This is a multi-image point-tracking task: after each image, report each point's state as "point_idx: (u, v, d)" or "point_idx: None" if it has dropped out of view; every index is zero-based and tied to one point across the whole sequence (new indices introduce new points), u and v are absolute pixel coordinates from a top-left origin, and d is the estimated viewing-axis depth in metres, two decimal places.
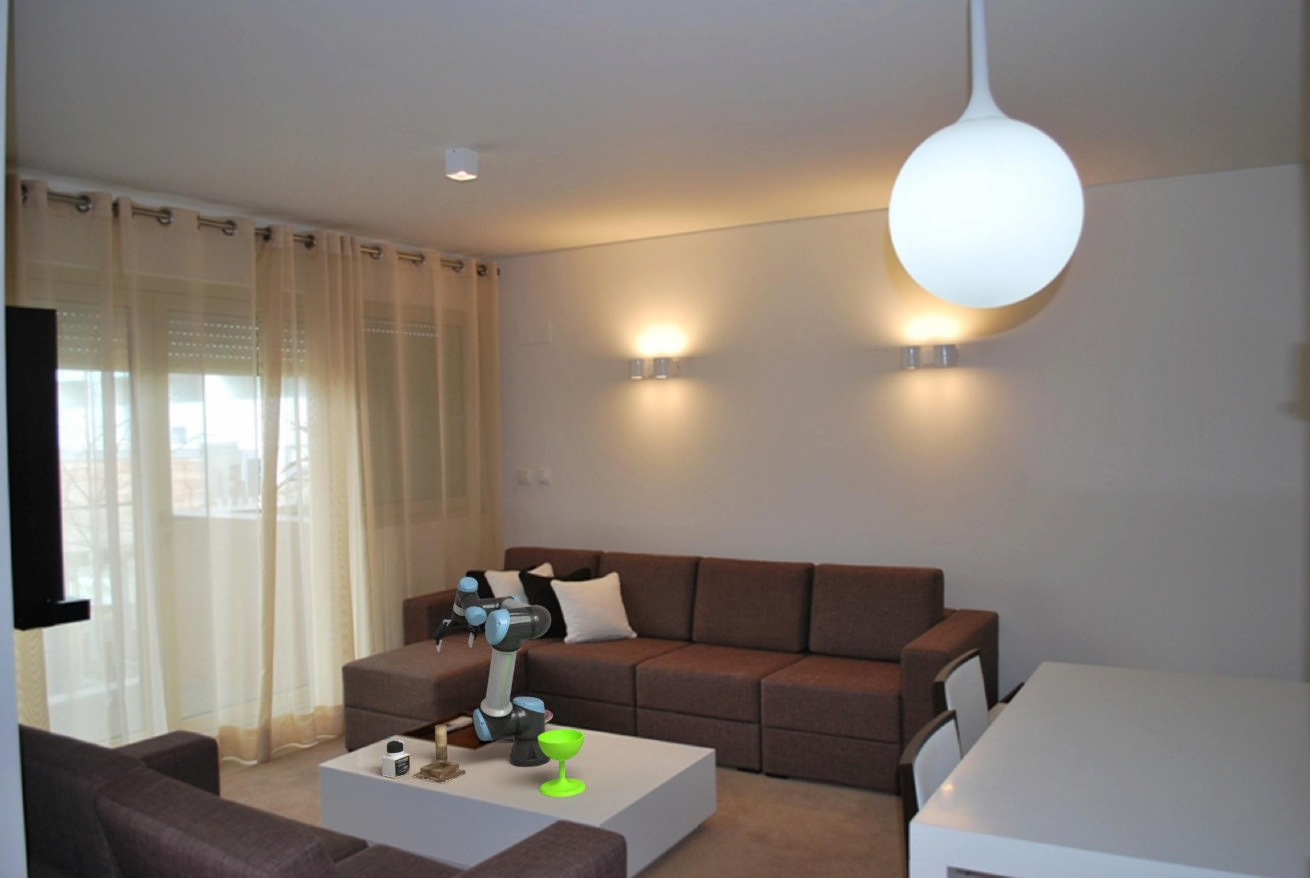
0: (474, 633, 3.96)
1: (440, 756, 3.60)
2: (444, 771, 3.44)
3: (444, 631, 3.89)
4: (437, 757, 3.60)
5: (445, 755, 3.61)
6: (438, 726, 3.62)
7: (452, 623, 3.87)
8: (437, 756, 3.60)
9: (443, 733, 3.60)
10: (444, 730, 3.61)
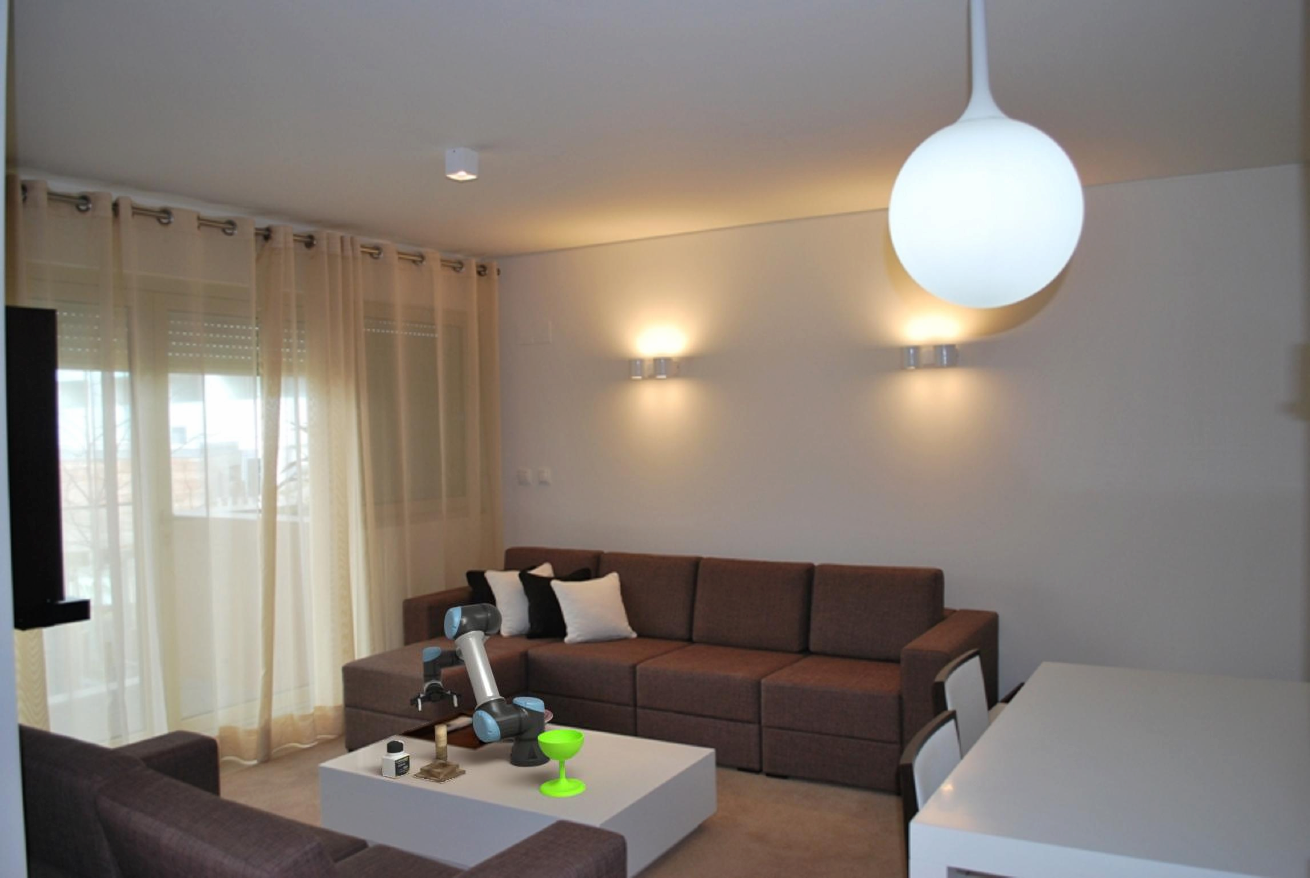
0: (454, 694, 3.81)
1: (440, 756, 3.60)
2: (444, 771, 3.44)
3: None
4: (437, 757, 3.60)
5: (445, 755, 3.61)
6: (438, 726, 3.62)
7: (426, 693, 3.85)
8: (437, 756, 3.60)
9: (443, 733, 3.60)
10: (444, 730, 3.61)
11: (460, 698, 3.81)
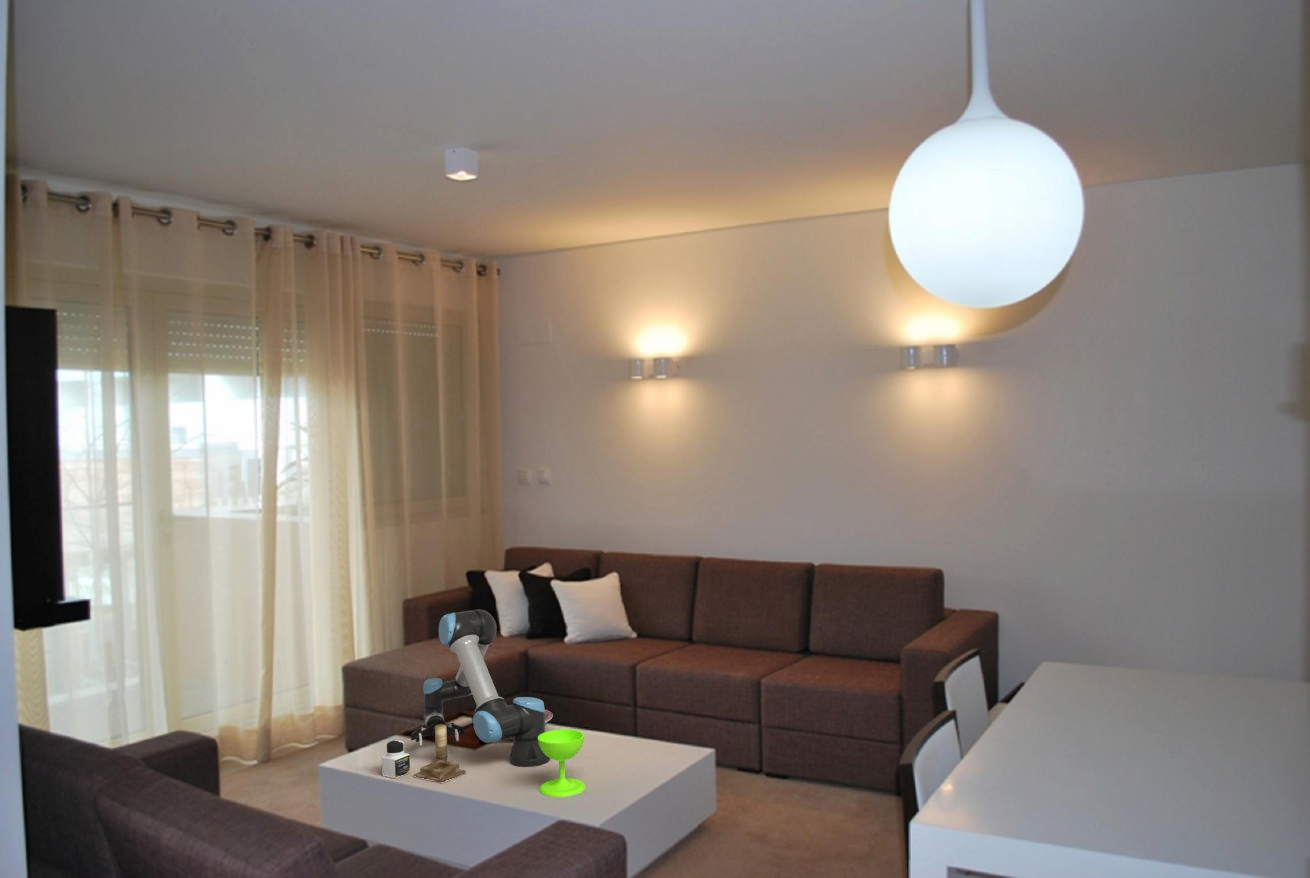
0: (456, 728, 3.75)
1: (440, 756, 3.60)
2: (444, 771, 3.44)
3: None
4: (437, 757, 3.60)
5: (445, 755, 3.61)
6: (438, 726, 3.62)
7: (427, 726, 3.79)
8: (437, 756, 3.60)
9: (443, 733, 3.60)
10: (444, 730, 3.61)
11: (462, 732, 3.75)
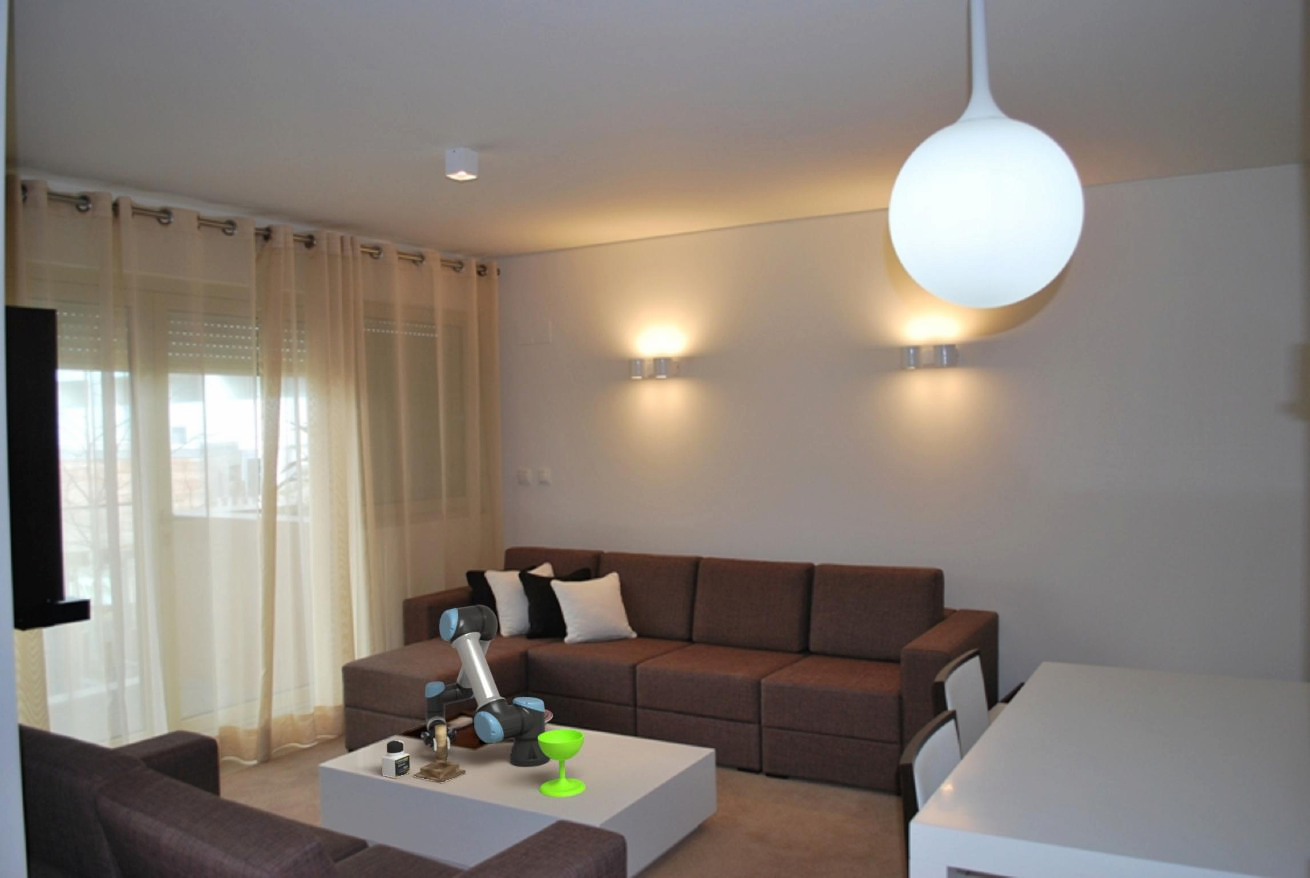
0: None
1: (440, 756, 3.60)
2: (444, 771, 3.44)
3: None
4: (437, 757, 3.60)
5: (445, 755, 3.61)
6: (438, 726, 3.62)
7: (429, 731, 3.72)
8: (437, 756, 3.60)
9: (443, 733, 3.60)
10: (444, 730, 3.61)
11: None
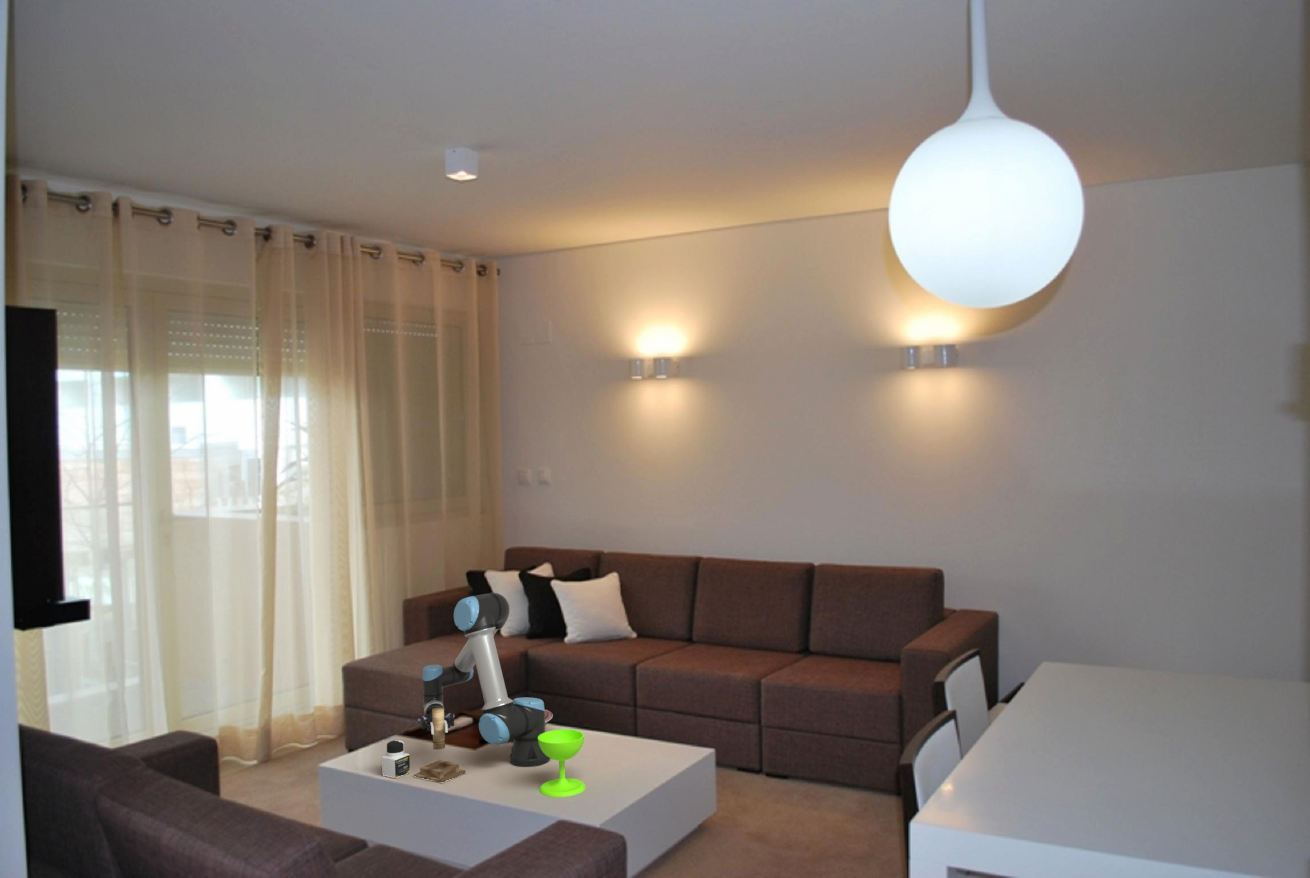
0: None
1: (437, 740, 3.47)
2: (444, 771, 3.44)
3: None
4: (434, 741, 3.47)
5: (443, 739, 3.48)
6: (435, 709, 3.49)
7: (426, 715, 3.59)
8: (434, 740, 3.47)
9: (440, 716, 3.47)
10: (442, 713, 3.48)
11: (450, 723, 3.52)
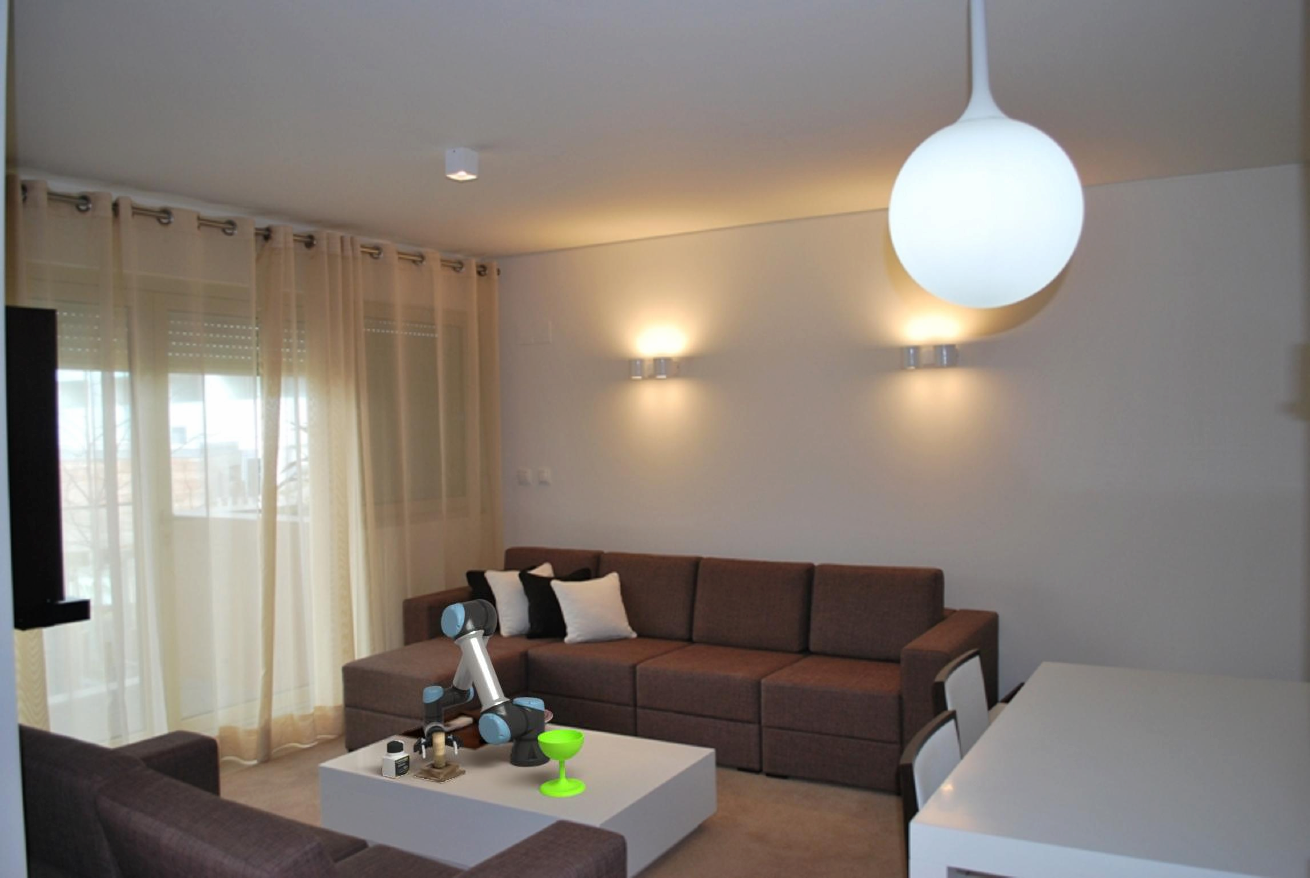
0: (454, 740, 3.54)
1: (438, 765, 3.47)
2: (444, 771, 3.44)
3: None
4: (435, 766, 3.47)
5: (443, 764, 3.48)
6: (436, 734, 3.49)
7: (427, 737, 3.59)
8: (435, 765, 3.47)
9: (441, 741, 3.47)
10: (442, 738, 3.47)
11: (460, 744, 3.54)
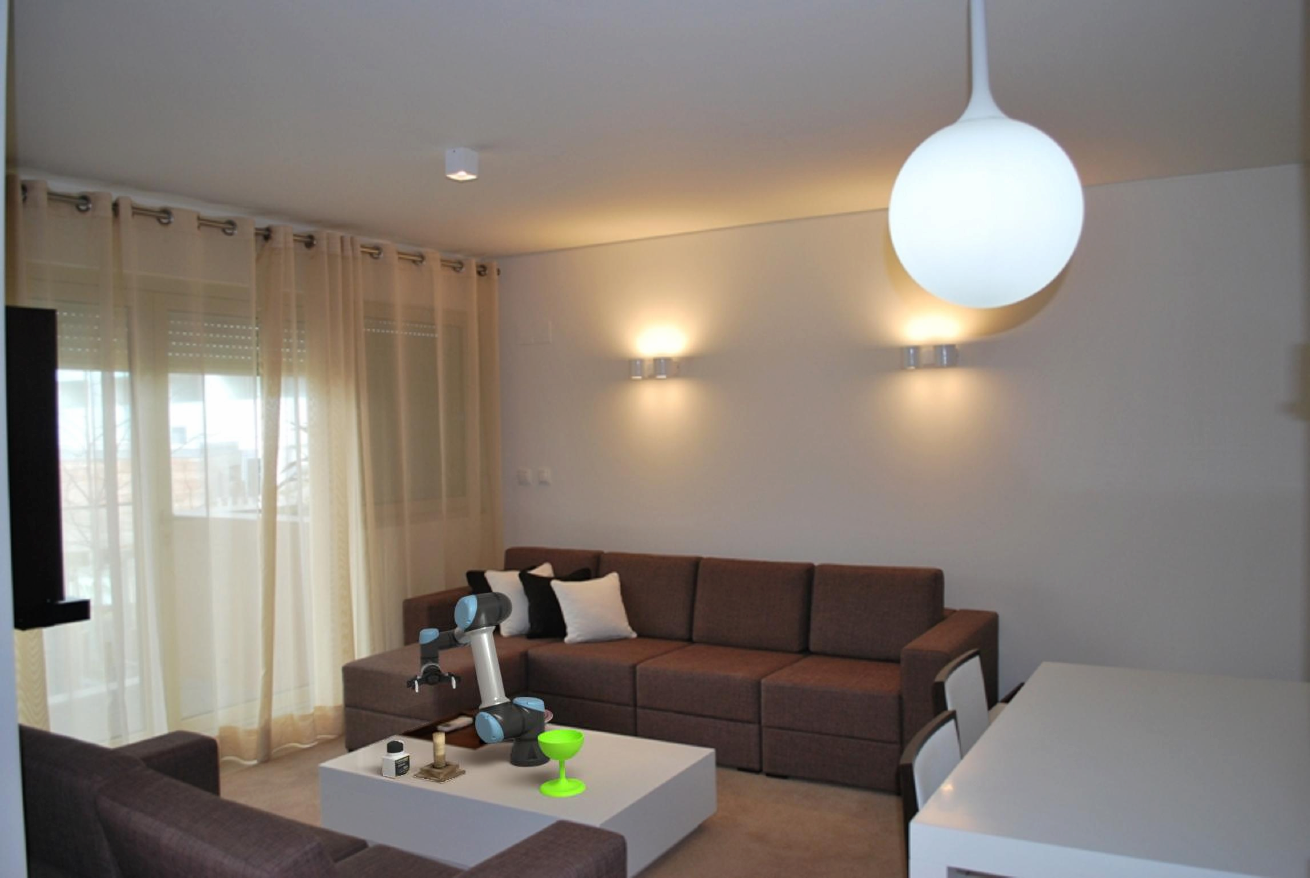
0: (452, 676, 3.68)
1: (438, 765, 3.47)
2: (444, 771, 3.44)
3: None
4: (435, 766, 3.47)
5: (443, 764, 3.48)
6: (436, 734, 3.49)
7: None
8: (435, 765, 3.47)
9: (441, 741, 3.47)
10: (442, 738, 3.47)
11: (458, 680, 3.67)
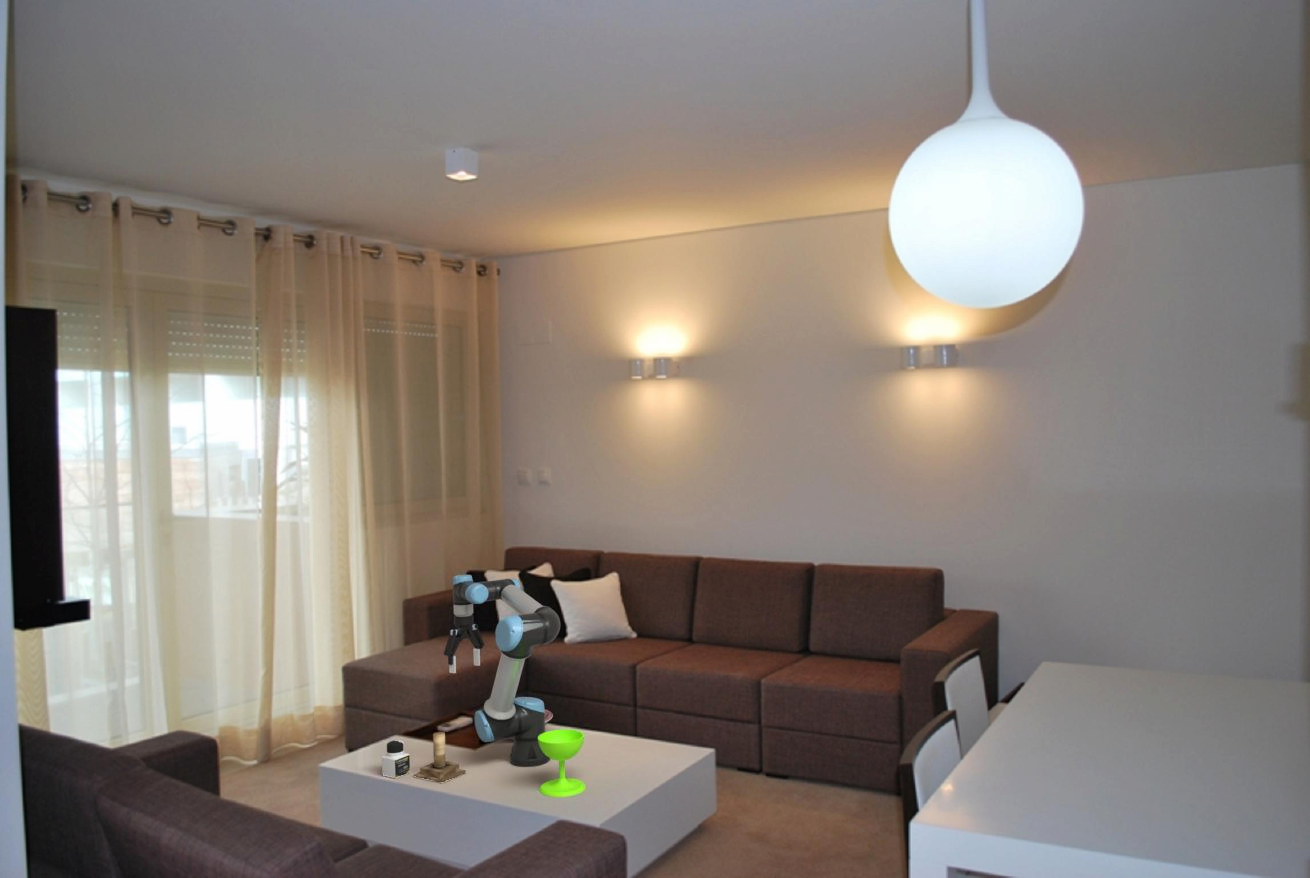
0: (478, 645, 3.82)
1: (438, 765, 3.47)
2: (444, 771, 3.44)
3: (454, 645, 3.72)
4: (435, 766, 3.47)
5: (443, 764, 3.48)
6: (436, 734, 3.49)
7: (459, 631, 3.73)
8: (435, 765, 3.47)
9: (441, 741, 3.47)
10: (442, 738, 3.47)
11: None
